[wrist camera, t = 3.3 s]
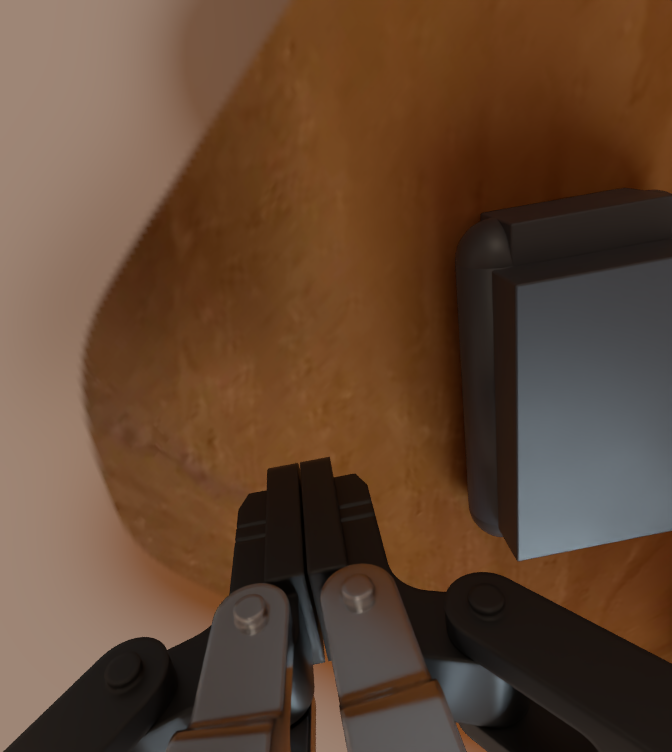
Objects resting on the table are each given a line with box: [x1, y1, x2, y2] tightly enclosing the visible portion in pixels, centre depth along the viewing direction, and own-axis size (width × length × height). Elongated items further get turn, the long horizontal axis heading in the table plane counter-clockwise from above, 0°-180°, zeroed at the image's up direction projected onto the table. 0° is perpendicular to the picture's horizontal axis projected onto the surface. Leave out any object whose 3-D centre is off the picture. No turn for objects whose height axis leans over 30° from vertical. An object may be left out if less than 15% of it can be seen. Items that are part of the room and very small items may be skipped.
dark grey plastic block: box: [455, 188, 672, 561], centre depth 14 cm, size 10×6×3 cm, turn 9°
